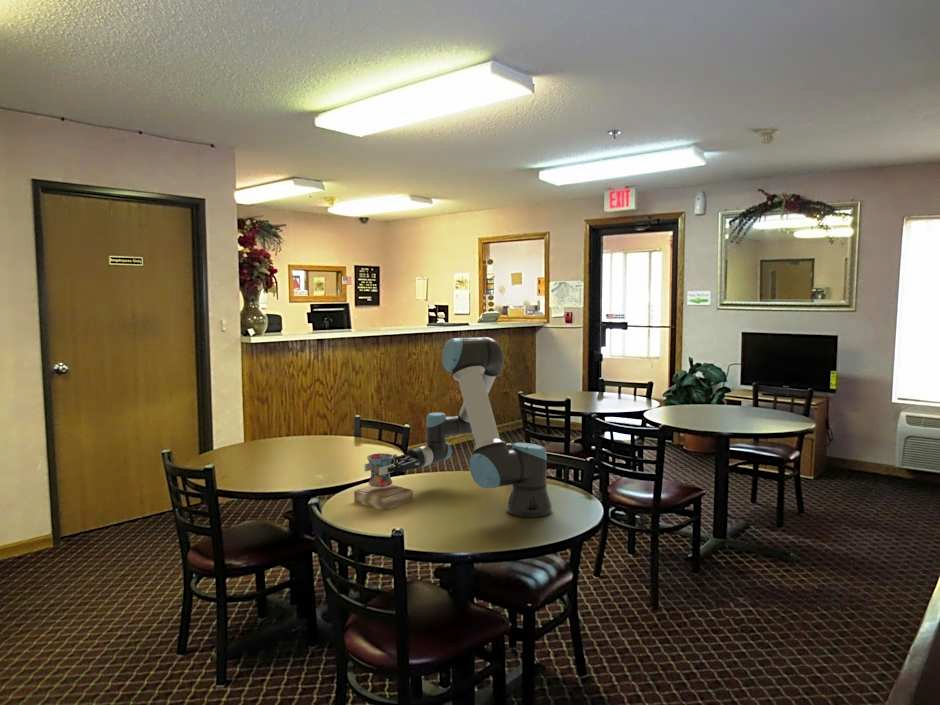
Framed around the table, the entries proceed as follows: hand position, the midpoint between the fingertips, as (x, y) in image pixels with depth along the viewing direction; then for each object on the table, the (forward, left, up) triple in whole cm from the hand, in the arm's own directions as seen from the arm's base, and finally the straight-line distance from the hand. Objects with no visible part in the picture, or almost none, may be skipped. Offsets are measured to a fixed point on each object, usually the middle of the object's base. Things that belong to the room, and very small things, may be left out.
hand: (372, 469), depth 230 cm
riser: (0, -5, -13) cm, 14 cm away
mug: (0, -5, -7) cm, 8 cm away
